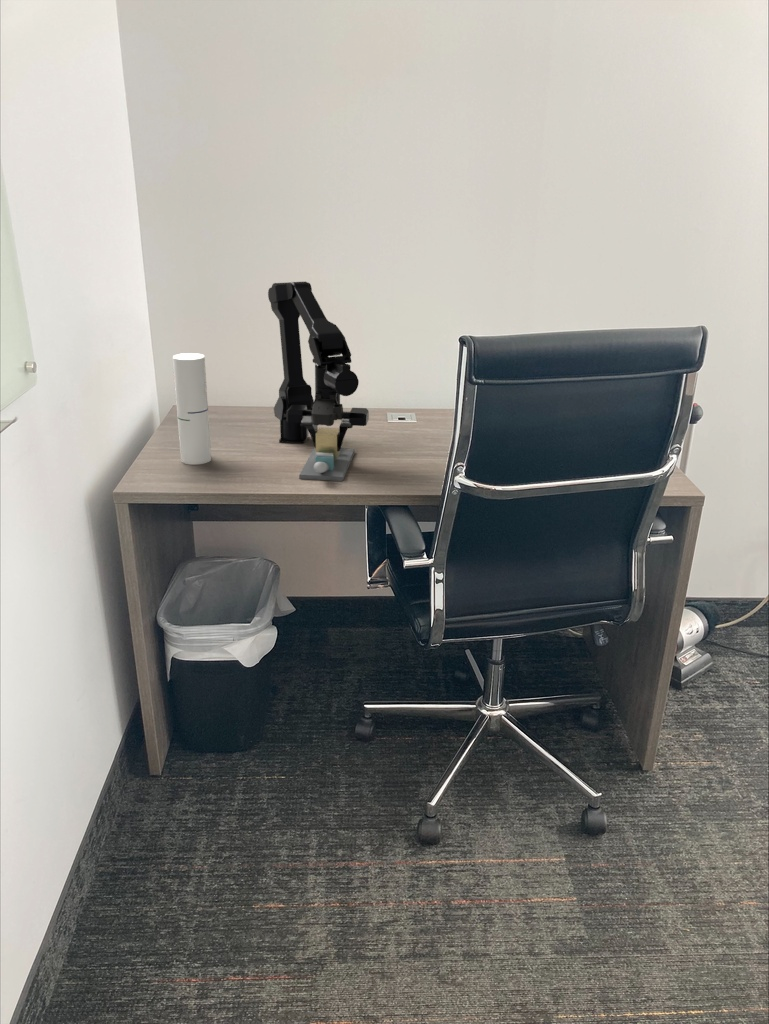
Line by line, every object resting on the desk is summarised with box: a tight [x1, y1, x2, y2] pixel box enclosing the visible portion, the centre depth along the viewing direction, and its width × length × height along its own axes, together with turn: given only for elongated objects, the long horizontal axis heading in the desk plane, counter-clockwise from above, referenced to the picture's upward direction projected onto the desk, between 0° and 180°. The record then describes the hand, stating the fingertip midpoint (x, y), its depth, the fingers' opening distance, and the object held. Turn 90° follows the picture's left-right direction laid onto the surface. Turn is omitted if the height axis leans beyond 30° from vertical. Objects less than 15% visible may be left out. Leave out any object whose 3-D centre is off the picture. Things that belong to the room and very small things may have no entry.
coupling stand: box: [298, 446, 355, 482], centre depth 192 cm, size 10×26×5 cm, turn 175°
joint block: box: [316, 427, 340, 460], centre depth 191 cm, size 5×5×6 cm
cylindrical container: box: [172, 352, 212, 466], centre depth 190 cm, size 7×7×25 cm
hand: (327, 450), depth 192 cm, fingers closed on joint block, 5 cm apart
